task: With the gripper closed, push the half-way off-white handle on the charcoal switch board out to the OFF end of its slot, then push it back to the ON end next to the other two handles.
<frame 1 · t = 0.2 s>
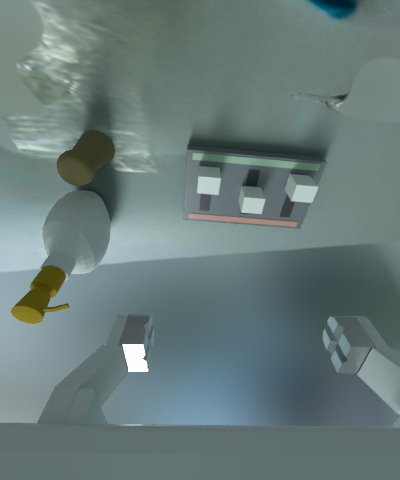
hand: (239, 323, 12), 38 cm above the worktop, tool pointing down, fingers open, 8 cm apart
cork: (97, 147, 45), on the worktop
tripped switch: (251, 199, 45), point 5 cm above the worktop, slide at 3.0 cm
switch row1: (208, 180, 43), point 5 cm above the worktop, slide at 0.0 cm
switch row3: (300, 188, 44), point 5 cm above the worktop, slide at 0.0 cm
soap bottle: (98, 209, 53), on the worktop
switch board: (247, 187, 49), on the worktop
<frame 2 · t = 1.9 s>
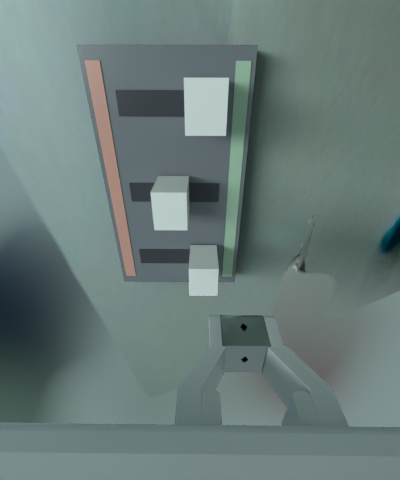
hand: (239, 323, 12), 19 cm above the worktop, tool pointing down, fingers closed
tripped switch: (172, 202, 24), point 5 cm above the worktop, slide at 3.0 cm
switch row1: (205, 105, 19), point 5 cm above the worktop, slide at 0.0 cm
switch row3: (203, 269, 28), point 5 cm above the worktop, slide at 0.0 cm
switch board: (176, 184, 28), on the worktop
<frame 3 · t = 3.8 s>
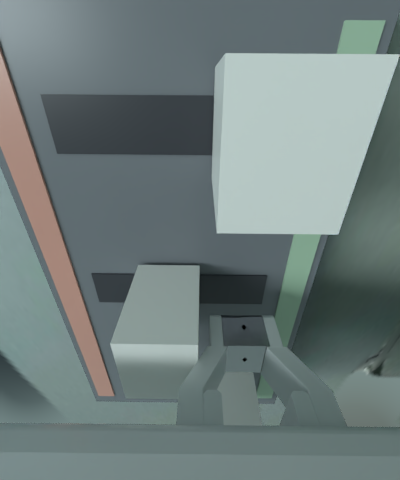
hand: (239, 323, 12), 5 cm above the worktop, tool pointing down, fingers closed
tripped switch: (165, 326, 11), point 5 cm above the worktop, slide at 3.5 cm, touching gripper
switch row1: (268, 140, 7), point 5 cm above the worktop, slide at 0.0 cm
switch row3: (229, 413, 16), point 5 cm above the worktop, slide at 0.0 cm
switch board: (183, 260, 16), on the worktop
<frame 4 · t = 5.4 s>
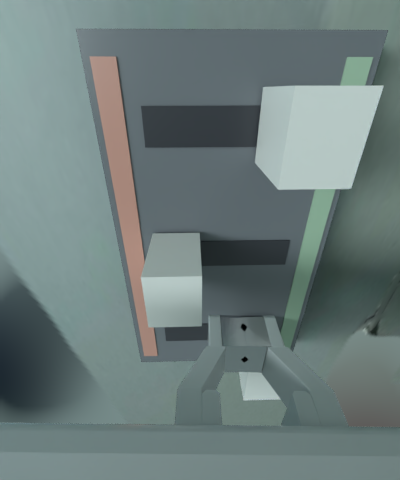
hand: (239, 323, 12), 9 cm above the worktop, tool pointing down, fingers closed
tripped switch: (175, 277, 15), point 5 cm above the worktop, slide at 6.1 cm
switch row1: (303, 133, 11), point 5 cm above the worktop, slide at 0.0 cm
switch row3: (259, 357, 19), point 5 cm above the worktop, slide at 0.0 cm
switch board: (219, 235, 20), on the worktop
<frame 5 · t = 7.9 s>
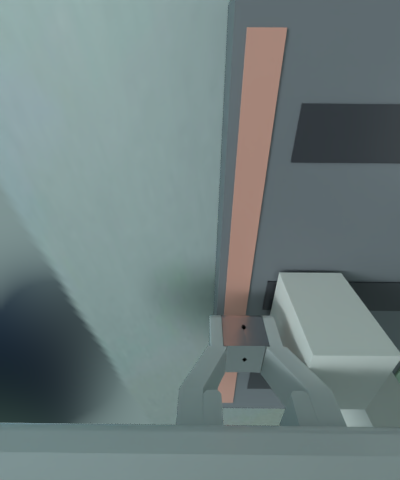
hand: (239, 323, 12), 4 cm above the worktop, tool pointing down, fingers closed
tripped switch: (318, 335, 11), point 5 cm above the worktop, slide at 5.6 cm, touching gripper
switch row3: (377, 421, 15), point 5 cm above the worktop, slide at 0.0 cm
switch board: (329, 267, 16), on the worktop
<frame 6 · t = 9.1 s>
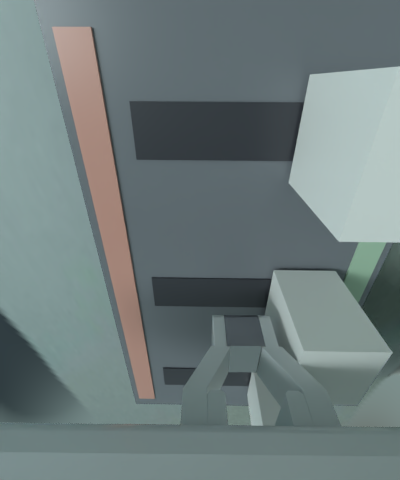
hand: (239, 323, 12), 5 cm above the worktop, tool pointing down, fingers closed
tripped switch: (312, 332, 11), point 5 cm above the worktop, slide at -0.1 cm, touching gripper
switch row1: (375, 147, 7), point 5 cm above the worktop, slide at 0.0 cm
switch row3: (279, 417, 16), point 5 cm above the worktop, slide at 0.0 cm
switch board: (232, 264, 16), on the worktop
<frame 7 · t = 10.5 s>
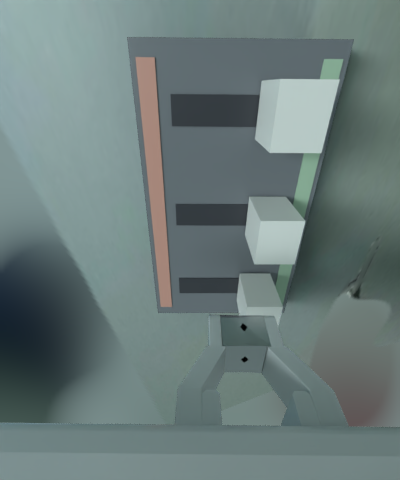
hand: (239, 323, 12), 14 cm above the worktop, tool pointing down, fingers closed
tripped switch: (270, 228, 20), point 5 cm above the worktop, slide at -0.1 cm
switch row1: (289, 114, 16), point 5 cm above the worktop, slide at 0.0 cm
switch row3: (257, 303, 24), point 5 cm above the worktop, slide at 0.0 cm
switch board: (225, 203, 24), on the worktop
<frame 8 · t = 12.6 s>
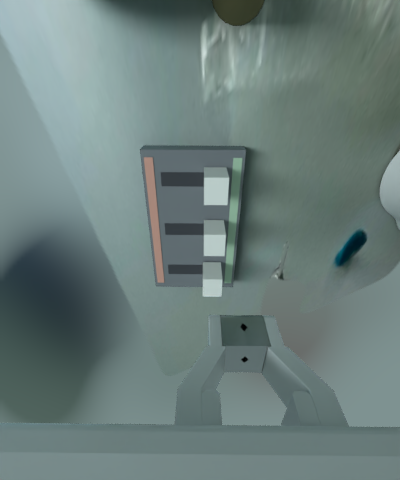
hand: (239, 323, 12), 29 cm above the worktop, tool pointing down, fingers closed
tripped switch: (213, 237, 37), point 5 cm above the worktop, slide at -0.1 cm
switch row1: (215, 185, 33), point 5 cm above the worktop, slide at 0.0 cm
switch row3: (211, 279, 42), point 5 cm above the worktop, slide at 0.0 cm
switch board: (194, 221, 42), on the worktop
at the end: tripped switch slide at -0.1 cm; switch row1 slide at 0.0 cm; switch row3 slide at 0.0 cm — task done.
